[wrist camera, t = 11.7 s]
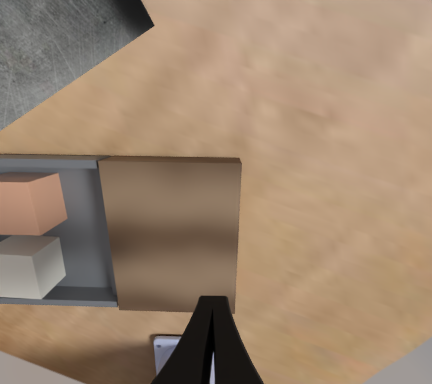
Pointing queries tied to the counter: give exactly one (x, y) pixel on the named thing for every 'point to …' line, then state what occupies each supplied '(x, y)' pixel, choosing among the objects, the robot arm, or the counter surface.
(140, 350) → the counter surface
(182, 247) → the walnut board
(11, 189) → the peach matte cube
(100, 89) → the counter surface
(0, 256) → the pale grey cube
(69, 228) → the charcoal tray
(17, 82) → the meat cleaver
